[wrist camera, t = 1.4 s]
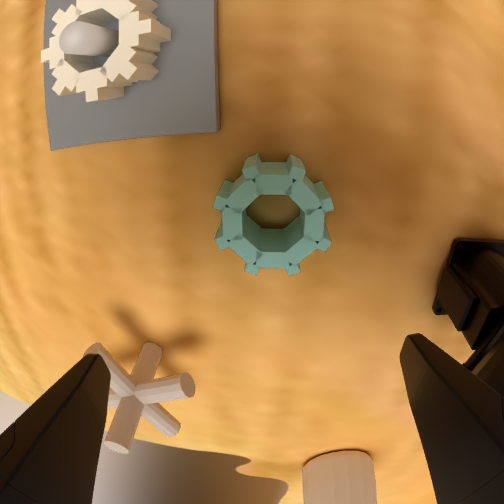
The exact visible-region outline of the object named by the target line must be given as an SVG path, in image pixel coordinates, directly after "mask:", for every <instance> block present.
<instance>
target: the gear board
mask: <svg viewBox="0 0 504 504" xmlns="http://www.w3.org/2000/svg"><path fill="white" fill-rule="evenodd" d="M152 1H154V2H155V3H157V4H158V6H157V7H156V8H155V9H154V10H153V12H152V14H154V15H155V16H156V17H158V18H157V19H156V20H157V21H159V22H160V24H162V25H164V26H166V27H168V28H170V29H171V41H166V42H160V52H155V53H154V54H155V55H156V56H158V58H157V59H156V60H155V61H154V63H153V64H152V65H153V66H154V67H155V68H156V69H158V70H159V72H158V73H157V74H156V75H155V77H154V78H153V79H152V80H151V81H147V80H139V81H138V82H132V84H133V85H130V86H124V97H120V98H114V99H106V100H99V101H92V102H86V94H85V93H77V94H69V95H62V96H59V95H58V94H57V93H56V92H55V91H53V90H52V87H53V86H54V84H55V82H56V81H57V78H55V77H54V76H53V75H52V72H53V71H54V69H50V66H49V63H44V87H45V102H46V114H47V124H48V133H49V141H50V148H51V151H53V150H58V149H64V148H69V147H75V146H81V145H88V144H94V143H101V142H108V141H116V140H124V139H133V138H143V137H153V136H164V135H178V134H194V133H215V132H218V131H219V130H220V112H219V75H218V0H152ZM71 4H73V5H76V0H46V5H45V20H44V49H47V48H49V38H51V37H54V36H55V35H54V34H53V33H51V32H52V31H53V29H54V28H55V26H56V25H57V23H56V22H54V21H53V20H52V18H53V16H54V15H55V13H56V12H57V11H58V9H59V8H60V9H64V10H67V9H68V8H69V7H70V5H71ZM118 45H119V20H117V21H113V22H109V23H107V24H106V25H105V26H104V27H101V26H98V25H94V24H90V23H86V22H82V21H74V22H71V23H70V24H68V25H67V26H66V27H65V28H64V30H63V31H62V33H61V35H60V39H59V46H60V49H61V50H62V51H63V52H64V53H66V54H77V55H89V56H93V62H94V63H96V64H97V65H98V66H99V67H102V66H103V65H104V64H105V62H106V61H107V60H108V58H109V57H110V56H111V54H112V53H113V52H114V50H115V49H116V48H117V47H118Z"/></svg>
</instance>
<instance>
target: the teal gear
mask: <svg viewBox="0 0 504 504" xmlns="http://www.w3.org/2000/svg"><path fill="white" fill-rule="evenodd" d="M242 172H243V174H242V175H241V176H240V177H239V178H238V179H237V180H236V181H235V182H234V183H233V182H231V181H228V180H226V179H225V180H224V182H223V184H222V186H221V188H220V190H219V192H218V194H217V196H216V199H215V201H214V204H213V207H212V208H215V209H217V210H220V211H222V220H221V223H220V226H219V228H218V231H217V234H216V237H215V239H214V240H215V242H216V244H217V245H218V247H219V249H220V250H223V249H225V248H228V247H229V248H230V249H232V250H233V251H234V252H235V253H236V254H237V255H239V256H240V257H241V258H242V259H243V260H244V261H245V262H246V264H245V270H244V271H245V272H248V273H251V274H253V275H257V273H258V271H259V269H260V268H285V269H286V271H287V274H288V276H290V275H293V274H296V273H299V272H300V265H299V263H300V262H301V261H302V260H303V259H305V258H306V257H307V256H308V255H310V254H311V253H312V252H313V251H315V250H316V249H319V250H321V251H324V252H326V250H327V249H328V247H329V245H330V243H331V242H332V241H331V239H330V236H329V233H328V230H327V227H326V225H325V222H324V219H325V213H326V212H329V211H332V210H335V209H334V206H333V203H332V200H331V197H330V195H329V193H328V191H327V189H326V187H325V186H324V184H323V182H322V181H320V182H317V183H314V184H313V183H312V182H311V181H310V180H309V179H308V177H307V176H306V175H305V173H306V169H305V167H304V165H303V162H302V160H301V159H300V158H298V157H296V156H294V155H291V154H289V157H288V159H287V161H286V162H261V160H260V157H259V155H258V154H255V155H253V156H250V157H248V158H246V160H245V163H244V166H243V168H242ZM260 194H263V195H288V196H289V197H290V198H291V199H292V200H293V201H294V202H295V203H296V204H297V205H298V206H299V207H300V215H299V216H298V217H297V218H296V219H295V220H294V221H292V222H291V223H290V224H289V225H288V226H287V227H286V228H284V229H262V228H261V227H260V226H259V225H258V224H257V223H255V222H254V221H253V220H252V219H251V218H250V217H249V216H248V215H247V206H249V205H250V204H251V203H252V202H253V201H254V200H255V199H256V198H257V197H258V196H259V195H260Z"/></svg>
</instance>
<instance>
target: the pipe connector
mask: <svg viewBox="0 0 504 504" xmlns="http://www.w3.org/2000/svg"><path fill="white" fill-rule="evenodd" d="M88 353H95V354H100V355H101V356H102V357H103V359H104V361H105V363H106V365H107V367H108V368H109V370H110V373H111V381H110V389H109V398H108V407H107V408H117V410H116V412H115V415H114V418H113V420H112V423H111V425H110V428H109V431H108V433H107V436H106V439H105V442H104V444H105V445H106V446H107V447H108V448H110V449H111V450H113V451H116V452H119V453H122V454H128V453H129V450H130V447H131V444H132V440H133V438H134V435H135V431H136V428H137V425H138V422H139V419H140V416H142V417H143V418H145V419H146V420H147V421H148V422H149V423H150V424H152V425H153V426H154V427H155V428H156V429H158V430H159V431H160V432H161V433H163V434H164V435H165V436H168V437H171V436H174V435H176V434H177V433H178V432H179V430H180V428H181V427H180V422H179V421H178V420H177V419H176V418H174V417H173V416H172V415H171V414H170V413H169V412H168V411H167V410H166V409H164V408H163V407H162V406H161V405H160V404H159V402H166V401H172V400H179V399H185V398H190V397H193V396H194V394H195V384H194V380H193V379H192V377H191V375H189V374H188V373H182V374H177V375H172V376H168V377H163V378H158V379H154V376H155V373H156V370H157V367H158V365H159V362H160V359H161V356H162V354H163V351H162V349H161V347H160V346H158V345H157V344H155V343H151V342H147V343H145V344H144V345H143V347H142V349H141V352H140V354H139V356H138V359H137V361H136V364H135V366H134V368H133V371H132V373H131V375H129V374H128V373H127V372H126V370H125V369H124V368H123V367H122V366H121V365H120V364H119V363H118V362H117V361H116V360H115V359H114V358H113V357H112V355H111V354H110V353H109V352H108V351H107V350H106V349H105V348H104V347H103V345H102V344H101V343H95V344H93V345H92V346H91V347H89V348H88V349H87V350H86V352H85V353H84V355H83V357H84V356H85V355H86V354H88Z"/></svg>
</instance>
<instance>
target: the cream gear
mask: <svg viewBox="0 0 504 504" xmlns="http://www.w3.org/2000/svg"><path fill="white" fill-rule="evenodd" d="M157 6H158V4H157V3H155V2H154V1H152V0H76V5H73V4H71V5H70V7H69V8H68V9H67V10H64V9H60V8H59V9H58V11H57V12H56V13H55V15H54V16H53V18H52V20H53V21H54V22H56V23H57V25H56V26H55V28H54V29H53V31H52V32H51V33H53V34H54V35H55V36H54V37H51V38H49V48H47V49H44V50H42V51H41V63H49V66H50V69H54V71H53V72H52V75H53V76H54V77H55V78H57V81H56V82H55V84H54V86H53V87H52V90H53V91H55V92H56V93H57V94H58V95H59V96H62V95H69V94H77V93H85V94H86V102H92V101H99V100H106V99H114V98H120V97H124V86H130V85H133V84H132V82H138V81H139V80H147V81H151V80H152V79H153V78H154V77H155V75H156V74H157V73H158V72H159V70H158V69H156V68H155V67H154V66H153V65H152V64H153V63H154V61H155V60H156V59H157V58H158V56H156V55H155V54H154V53H155V52H160V42H166V41H171V29H170V28H168V27H166V26H164V25H162V24H160V22H159V21H157V20H156V19H157V18H158V17H156V16H155V15H154V14H152V12H153V10H154V9H155V8H156V7H157ZM117 20H119V45H118V47H117V48H116V49H115V50H114V52H113V53H112V54H111V56H110V57H109V58H108V60H107V61H106V62H105V64H104V65H103V66H102V67H99V66H98V65H97V64H96V63H94V62H93V56H89V55H77V54H66V53H64V52H63V51H62V50H61V49H60V46H59V39H60V35H61V33H62V31H63V30H64V28H65V27H66V26H67V25H68V24H70V23H71V22H74V21H82V22H86V23H90V24H94V25H98V26H101V27H104V26H105V25H106V24H107V23H109V22H113V21H117Z"/></svg>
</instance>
